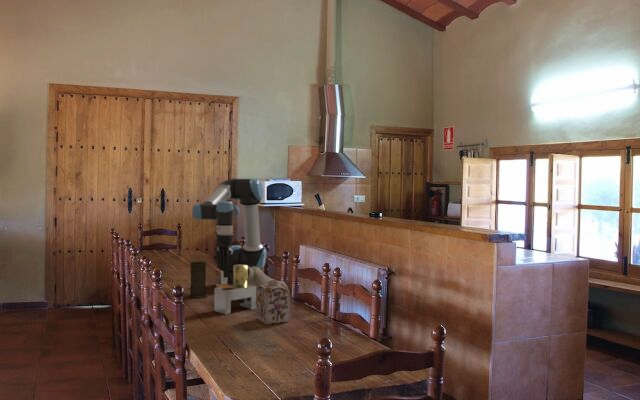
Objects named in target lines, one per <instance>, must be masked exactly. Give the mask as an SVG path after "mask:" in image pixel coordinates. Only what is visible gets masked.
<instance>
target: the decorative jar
mask: <svg viewBox="0 0 640 400" xmlns="http://www.w3.org/2000/svg"><path fill="white" fill-rule="evenodd" d="M278 281H279V280H277V279H274V280H269V281H268V283H265V284H262V285H260V286H259V288H258V289H257V298H256V318H257V320H259V321H260V322H262V323H263V324H265V325H273V324H272V323H275V324H282V323H281V322H283V323H289V322H290V312H291V308H290V307H291V293H290V292H291V291H290V290H289V287H288V285H285V284H281V283H278ZM288 321H289V322H288Z"/></svg>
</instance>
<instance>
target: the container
mask: <svg viewBox="0 0 640 400" xmlns="http://www.w3.org/2000/svg"><path fill="white" fill-rule="evenodd" d="M189 266H190V292H189V297H190V298H191V299H204V298H206V297H207V296H208V295H207V288H206V287H207V286H206V279H207V278H206V275H207V274H206V273H207V271H206V267H207V263H206V262H204V261H194V262H190V264H189Z"/></svg>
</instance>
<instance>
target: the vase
mask: <svg viewBox="0 0 640 400" xmlns="http://www.w3.org/2000/svg"><path fill="white" fill-rule="evenodd" d="M245 265H246V264H245ZM269 280H275V279H274V278H271V277H270V276H268V275H267V274H266V273H264V271H263V270H262V268H258V267H249V266H248V284H251V285H255V286H256V299H257V289H258V288H259V286H260V285H262V284H265V283H268V281H269ZM278 283H281V284H285V285H286V282H285V281H280V280H278Z"/></svg>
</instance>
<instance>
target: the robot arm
mask: <svg viewBox="0 0 640 400" xmlns="http://www.w3.org/2000/svg"><path fill="white" fill-rule="evenodd" d="M263 198H264V187H263V184H262V181H261V180H260V179H257V178H256V179H255V178H230V179H226V180H224V181H222V182H221V183H219V184H218V185H216V186H215V188H214V189H213V192H212V193H211V194H210V195H209V196H208V197H207V198H206V199H205V200H204V201H203V202H202V203H195V204H193V207H192V211H191V212H192V213H191V214H192V217H193V219H195V220H200V221H201V220H206V221H207V220H212V221H215V220H216V238H215V239H216V243H218V244H217V247H214V252H215V257H216V264H217V268H218V269H219V270H220V272H219V277H218V280H217V282H216V283H217V284H220V285H227V284H229V285H233V266H234V265H239V264H243V265H245V264H246V265H248V266H249V267H258V268H260V269H263V268H264V267H265V264H266V261H267V260H266V259H267V252H268V251H267V248H264V244H263V243H261V234H260V231H261V230H260V215H259V205H260V204H261V202H262V200H263ZM229 200H236V201H237V200H239V204H240V205H241V206H242V215H243V216H242V217H243V227H244V228H243V229H244V231H243V232H244V242H245V243H244V245H243V246H241V245H240V244H239V245H237V244H236V245H235V244H234V245H231V244H233V238H234V237H233V233H234V229H233V228H234V225H233V223H234V220H236V219H237V218H238V217H239V216H240V213H241V211H240V208H239V206H238V205H236V204H233V202H232V201H229Z"/></svg>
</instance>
